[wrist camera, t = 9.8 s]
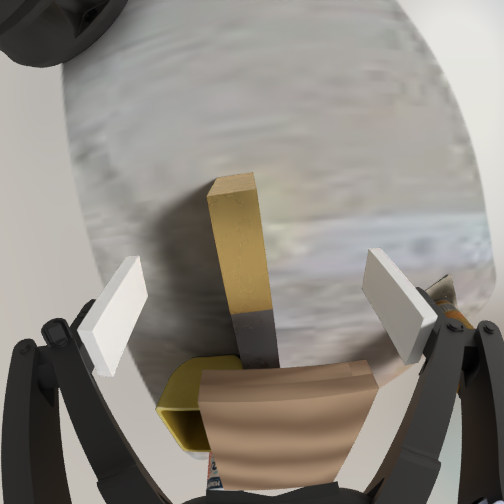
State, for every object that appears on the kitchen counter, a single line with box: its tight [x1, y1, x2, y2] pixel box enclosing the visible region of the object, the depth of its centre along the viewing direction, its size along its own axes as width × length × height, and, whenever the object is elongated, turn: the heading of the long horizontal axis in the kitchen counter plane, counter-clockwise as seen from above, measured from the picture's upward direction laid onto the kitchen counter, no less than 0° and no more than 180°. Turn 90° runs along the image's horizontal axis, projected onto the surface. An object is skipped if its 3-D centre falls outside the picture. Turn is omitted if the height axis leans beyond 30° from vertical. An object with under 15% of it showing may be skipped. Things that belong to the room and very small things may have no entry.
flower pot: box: [155, 355, 243, 452], centre depth 28 cm, size 9×9×9 cm
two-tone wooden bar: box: [207, 172, 280, 370], centre depth 26 cm, size 27×3×7 cm, turn 8°
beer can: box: [207, 452, 244, 492], centre depth 32 cm, size 5×5×12 cm
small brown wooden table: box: [198, 360, 379, 490], centre depth 26 cm, size 18×12×12 cm, turn 1°
